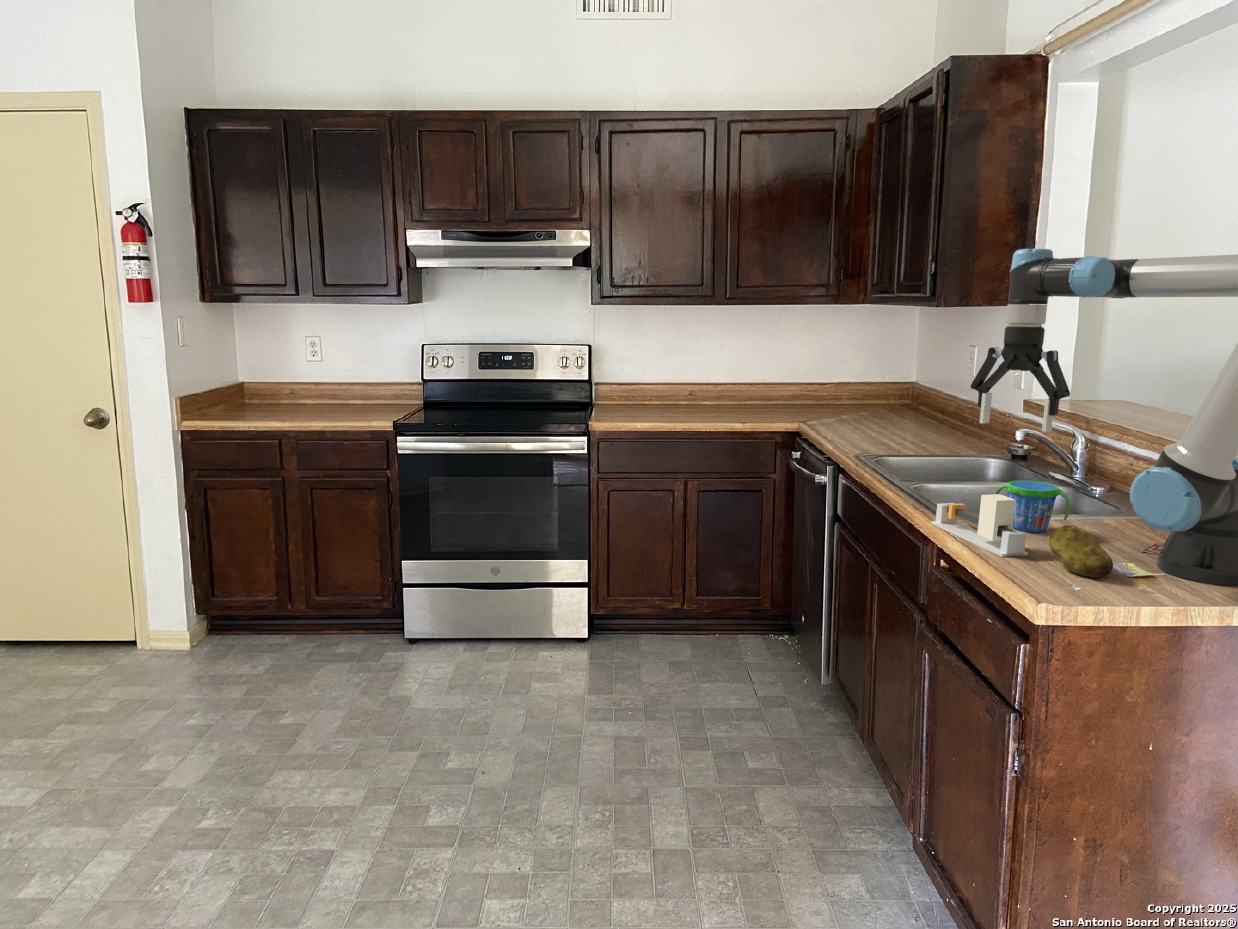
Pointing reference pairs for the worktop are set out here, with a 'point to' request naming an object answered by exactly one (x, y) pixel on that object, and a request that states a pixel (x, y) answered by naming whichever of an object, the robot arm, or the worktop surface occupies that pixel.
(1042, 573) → the worktop surface
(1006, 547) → the sliding block rail
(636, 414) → the worktop surface
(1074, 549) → the potato
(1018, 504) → the snack cup
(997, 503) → the tall cream pillar
